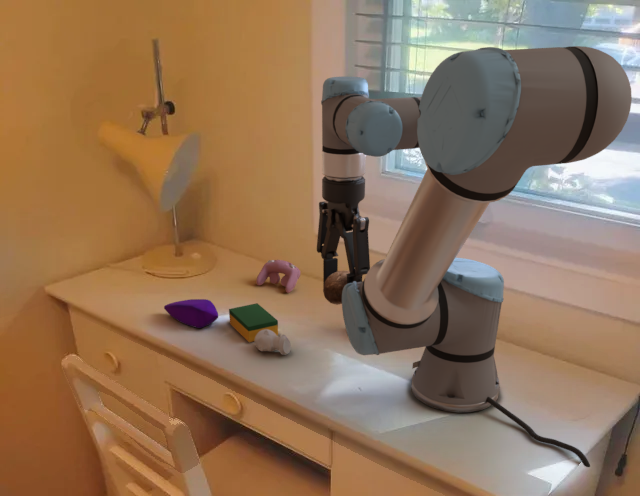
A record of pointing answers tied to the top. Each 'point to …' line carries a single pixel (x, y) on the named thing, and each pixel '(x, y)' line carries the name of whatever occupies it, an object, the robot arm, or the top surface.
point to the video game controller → (273, 270)
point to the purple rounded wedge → (193, 312)
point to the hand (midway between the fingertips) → (341, 299)
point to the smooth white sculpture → (272, 342)
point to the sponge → (252, 320)
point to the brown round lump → (335, 286)
